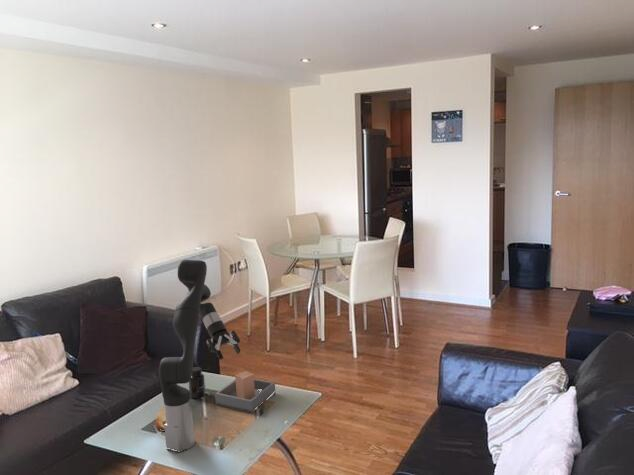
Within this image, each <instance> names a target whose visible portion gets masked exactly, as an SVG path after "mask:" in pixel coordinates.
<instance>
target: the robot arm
mask: <svg viewBox="0 0 634 475" xmlns="http://www.w3.org/2000/svg"><path fill="white" fill-rule="evenodd" d="M207 268H208V266H207V263H206V261H203V260H193V259H182V260H181V261H179V263H178V265H177V278H178V280H179V282H180V283H182V284H183V285H184V286H185V287H186V288H187V290H188V291H187V293H186V295H185V296H184V297H183V298H182V300H180V302H179V303H178V304H177V305H176V307H175V309H174V313H173V320H172V328H173V329H174V332H175V334H176V336H177V337H178V339H179V341H180V344H181V345H182V346H181V347H182V350H183V352H182V356H168V357H163V358H162V359H161V360H160V361H159V362H160V363H159V368H158V372H159V374H158V375H159V380H160V381H159V382H160V388H161V395H162V398H163V404H164V406H163V407H164V408H165V418H166V424H165V425H164V429H165V432H164V436H165V437H164V438H165V446H166V447H167V448H170V449H174V450H177V451H181V450H184V451H186V450H185V449H187V450H189V449H190V448H192V447H193V446H194V445H195V433H194V423H193V411H192V410H193V409H192V401H191V400H192V399H191V397H190V392H189V388H186V387H183V386H181V385H183V384H189V383H188V382H189V381H190V379H191V376H192V370H193V368H194V354H195V346H196V345H195V344H196V338H197V330H198V326H199V318H201V320H202V322H203V324H204V326H205V328H206V331H207V333H208V335H209V337H211V338H209V337H208V338H207V340H206V341H205V343H206V345H207V347H208V350H209V352H210V353H211V354H213V353H214V354H216V357H217V359H219V360H220V361H222V360H223V359H224V356H223V354H222V352H221V350H220V347H222V346H224V345H229V346H232V347H233V350H234V352H235V353H236V354H237V355H239V354H240V353H241V349H240V347H239V343H240V342H241V339H240V338H239V336H238V335H237V332H236V331H235V330H232V331H230V332H228V331H227V328H226V326H225V324H224V321H223V320H222V318H221V316H220V315H219V313H218V312H217V310H216V307H215V306H214V304H213V303H212V302H204V301H206V300H209V299H210V297H211V294H212V292H211V290H210V288H209V287H208V286H207V284H205V281H206V278H207V277H206V276H207V270H208V269H207ZM202 302H204V303H202ZM213 343H215V346H214V344H213ZM180 384H181V385H180ZM188 448H189V449H188ZM181 452H182V451H181Z"/></svg>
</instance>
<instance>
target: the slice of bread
mask: <svg viewBox="0 0 634 475" xmlns="http://www.w3.org/2000/svg"><path fill="white" fill-rule="evenodd" d="M165 424H166V418H165V408H164V406H162V408H161V410H160V411H159V412H158V414H157V416H156V419H155V422H154V426H155V428H156V429H157V428H158V429H161V430H164V431H165V429H164V425H165ZM158 429H157V430H158Z"/></svg>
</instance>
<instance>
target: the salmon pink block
mask: <svg viewBox="0 0 634 475" xmlns="http://www.w3.org/2000/svg"><path fill="white" fill-rule="evenodd" d="M234 376H235V379H236V393H237V397H239V398H244V399H248V400H249V399H251V398H253V397H255V388H254V379H255V378H254V374H253V373H251V372H250V371H247V370H244V371H242V372H239V373H237V374H235V375H234ZM235 379H234V380H235Z"/></svg>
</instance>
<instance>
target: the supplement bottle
mask: <svg viewBox="0 0 634 475" xmlns="http://www.w3.org/2000/svg"><path fill="white" fill-rule="evenodd" d="M205 381H206V380H205V375H204V373H203V372H202V368H201V367H199V366H195V367H194V366H193V370H192V376H191V379H190V381H189V382H188V383H187V384H188V390H189V392H190V398H192V399H199V398H203V397H205V395H206V382H205Z"/></svg>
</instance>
